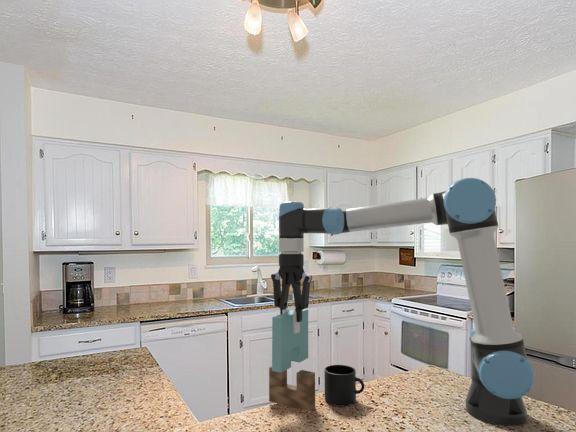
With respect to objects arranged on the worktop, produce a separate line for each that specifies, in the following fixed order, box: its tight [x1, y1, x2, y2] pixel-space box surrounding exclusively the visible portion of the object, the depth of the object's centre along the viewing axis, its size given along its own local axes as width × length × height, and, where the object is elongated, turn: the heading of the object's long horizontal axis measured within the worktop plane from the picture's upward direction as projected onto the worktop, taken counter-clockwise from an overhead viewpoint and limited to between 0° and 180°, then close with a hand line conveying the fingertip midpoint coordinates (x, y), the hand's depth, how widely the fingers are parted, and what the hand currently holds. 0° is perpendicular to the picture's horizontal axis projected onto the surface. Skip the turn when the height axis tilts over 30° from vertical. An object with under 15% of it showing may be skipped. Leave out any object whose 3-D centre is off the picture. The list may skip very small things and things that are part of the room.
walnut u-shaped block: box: [268, 365, 316, 412], centre depth 115 cm, size 14×3×10 cm, turn 59°
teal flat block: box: [271, 308, 309, 373], centre depth 116 cm, size 16×3×15 cm, turn 149°
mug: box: [323, 364, 365, 407], centre depth 118 cm, size 9×12×9 cm
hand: (291, 331), depth 116 cm, fingers closed on teal flat block, 3 cm apart
